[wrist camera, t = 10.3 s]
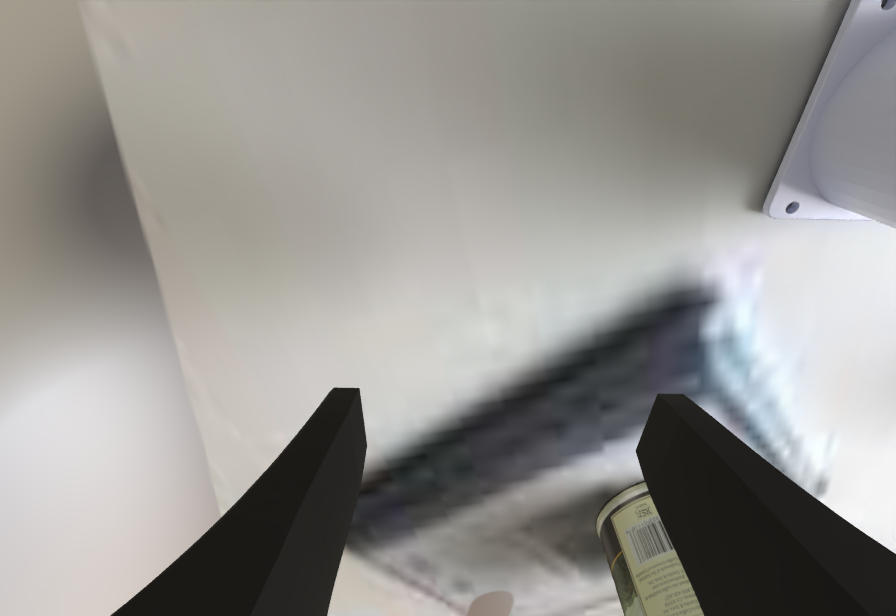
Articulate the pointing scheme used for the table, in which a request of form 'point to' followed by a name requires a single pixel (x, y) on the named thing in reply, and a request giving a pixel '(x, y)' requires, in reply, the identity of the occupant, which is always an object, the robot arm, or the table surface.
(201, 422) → the table surface
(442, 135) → the table surface
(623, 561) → the coffee can
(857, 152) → the robot arm
